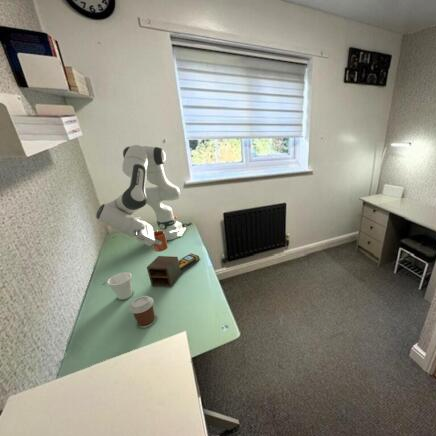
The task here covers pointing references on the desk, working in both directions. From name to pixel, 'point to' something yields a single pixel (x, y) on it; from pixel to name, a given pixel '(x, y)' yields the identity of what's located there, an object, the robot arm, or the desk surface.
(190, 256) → the electronic device
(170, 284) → the shelf
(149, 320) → the coffee cup
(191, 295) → the desk surface
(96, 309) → the desk surface
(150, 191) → the robot arm
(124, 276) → the cup
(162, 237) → the tumbler
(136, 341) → the desk surface
